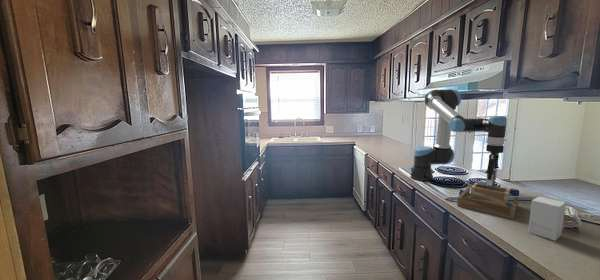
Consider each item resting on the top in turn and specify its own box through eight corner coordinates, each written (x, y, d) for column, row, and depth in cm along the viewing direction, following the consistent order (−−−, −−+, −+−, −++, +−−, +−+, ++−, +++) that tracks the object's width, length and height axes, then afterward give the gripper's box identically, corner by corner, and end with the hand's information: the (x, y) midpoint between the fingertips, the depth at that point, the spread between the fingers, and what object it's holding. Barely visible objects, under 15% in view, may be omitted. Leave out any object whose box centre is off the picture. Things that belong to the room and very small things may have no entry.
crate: (474, 193, 153) (476, 166, 150) (508, 201, 142) (512, 171, 139) (470, 198, 145) (473, 169, 143) (506, 206, 134) (510, 175, 132)
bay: (466, 195, 156) (467, 186, 156) (517, 205, 140) (518, 196, 139) (457, 205, 141) (458, 196, 140) (513, 219, 124) (514, 208, 123)
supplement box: (562, 235, 110) (567, 202, 107) (555, 241, 105) (560, 207, 103) (534, 226, 117) (539, 195, 115) (527, 232, 112) (531, 199, 110)
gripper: (500, 148, 127) (496, 189, 131) (506, 142, 145) (502, 178, 148) (482, 146, 132) (478, 186, 136) (490, 141, 150) (486, 176, 153)
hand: (491, 182), depth 142 cm, fingers open, 13 cm apart
